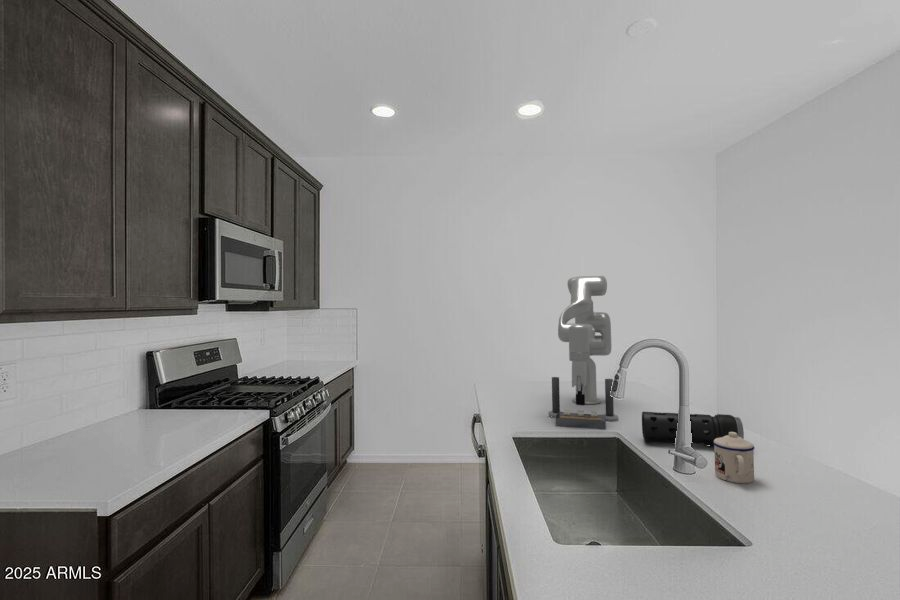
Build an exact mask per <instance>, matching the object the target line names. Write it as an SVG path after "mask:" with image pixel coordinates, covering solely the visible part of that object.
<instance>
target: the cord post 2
mask: <svg viewBox="0 0 900 600" xmlns="http://www.w3.org/2000/svg"><path fill="white" fill-rule="evenodd" d="M612 382H613V383H614V379H613V378H604V395H605V397H604V399H605V413H603V414H601V415H606V422H618V421H619V415H618V414H615V412H614V411H615V408H614V407H615V406H614V405H615V404H614V396H613V397H611V396H610V391H611V386H612Z"/></svg>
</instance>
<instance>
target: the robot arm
mask: <svg viewBox="0 0 900 600" xmlns="http://www.w3.org/2000/svg"><path fill="white" fill-rule="evenodd" d="M567 289H568V292H569V294H570V304H569V305H568V306H567V307H566V308H565V309H564V310H563V311H562V312H561V313H560V315H559V317H558V326H557V327H558V328H557V333H558V334H557V337H558V339H559V340H560V341H561V342H562V343H568V358H569V359H568V360H569V362H571V387H572V388H574V387H575V397H573V398H572V402H573V403H575V405H576V406H585V405H597V404H598V405H599V404H601V400H600V398H598V395H597V394H598V392H597V364H596V362H595V361H594V360H593V358H591V356H597V357H599V356H602V357H605V356H609V355H610V354H611V353H612V325H611V317H610V315H609V313H607V312H604V311H602V312H598V311H596V312H595V311H594V301H593V299H592V297H601V296H605V295H606V294H607V290H608V281H607V278H606V277H605V276H603V275H587V276H575V277H570V278H569V279H568V280H567ZM573 319H574V323H568V322H569V321H571V320H573ZM596 333H599V335H598V334H597V335H596Z"/></svg>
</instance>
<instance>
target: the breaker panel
mask: <svg viewBox="0 0 900 600" xmlns="http://www.w3.org/2000/svg"><path fill="white" fill-rule="evenodd" d="M562 412H564V413H562ZM562 412H558V414H557V416H556V418H554V419H555V427H565V428H566V427H567V428H580V429H595V430H606V429H607V427H606V426H607V425H606V422H607V421H606V415H602V414H598V411H596V410H595V411H590V413H585V411H584V410H577V413H576V412H571V409H564V411H562Z"/></svg>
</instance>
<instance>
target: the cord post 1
mask: <svg viewBox="0 0 900 600" xmlns="http://www.w3.org/2000/svg"><path fill="white" fill-rule="evenodd" d="M560 398H561V397H560V377H559V376H552V377H551V401H552V402H551V403H552V404H551V406H552V407H551V409H552V410H550V411H548V413H547V414H548V415H549V416H552V417H556V416H557V414H558V412H562V413H564V411H561V409H560V408H561V406H560V405H561V401H560V400H561V399H560ZM549 416H548V417H549ZM552 417H551V418H552Z"/></svg>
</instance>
